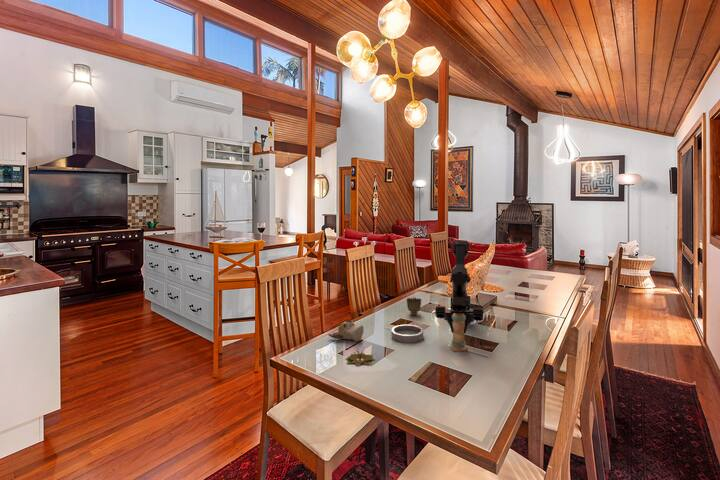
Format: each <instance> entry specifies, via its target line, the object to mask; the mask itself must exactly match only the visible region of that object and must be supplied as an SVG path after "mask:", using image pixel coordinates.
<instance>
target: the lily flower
mask: <svg viewBox="0 0 720 480" xmlns="http://www.w3.org/2000/svg"><path fill="white" fill-rule="evenodd" d="M355 351H356V352H353V353H351V354H350V355H349V356H347V357H346V358H345V360H348V361H347V362H346V364H348V365H349V364H355V365H356V367H359V366H360V365H361V364H364V365H369V366H371V362H370V361H375V358H373V354H366V353H365V352H366V349H365V347H364V348H363V349H362V350H361V349H360V351H359V350H358V348H356V349H355Z"/></svg>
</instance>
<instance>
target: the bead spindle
mask: <svg viewBox="0 0 720 480" xmlns="http://www.w3.org/2000/svg"><path fill="white" fill-rule="evenodd" d="M452 319H453V321H452V323H453V333H452V340H451V343H450V344H449V345H450V346H449V350H451V351H453V352H458V353H460V352H461V353H462V352H466V351H467V350H468V349H467V348H468V347H467V346H468V345H467V344H466V340H465V334H464V329H465V320H466V316H465V314H463V313H454V314H453V315H452Z"/></svg>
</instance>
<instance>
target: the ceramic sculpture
mask: <svg viewBox="0 0 720 480" xmlns="http://www.w3.org/2000/svg"><path fill="white" fill-rule="evenodd" d="M327 335H328V336H329V337H330V338H332V339H334V340H340V339H343V340H353V341H354V342H355V343H357V342H360V341H361V340H362V338H363V335H364V325H363V324H362V325H361V324H360V325H356V324H355V322H353V320H349V319H347V321H344V322H342V323H341V324H339V326H338V330H337V331H336V332H332V333H329V334H327Z"/></svg>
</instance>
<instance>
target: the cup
mask: <svg viewBox="0 0 720 480" xmlns="http://www.w3.org/2000/svg"><path fill="white" fill-rule="evenodd" d="M406 305H407V310H408V311H409V312H410V315H411V316H417V315H418V312H419V311H420V310H421V305H422V299H421V298H418V297H411V298H410V297H408V298H406Z"/></svg>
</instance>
